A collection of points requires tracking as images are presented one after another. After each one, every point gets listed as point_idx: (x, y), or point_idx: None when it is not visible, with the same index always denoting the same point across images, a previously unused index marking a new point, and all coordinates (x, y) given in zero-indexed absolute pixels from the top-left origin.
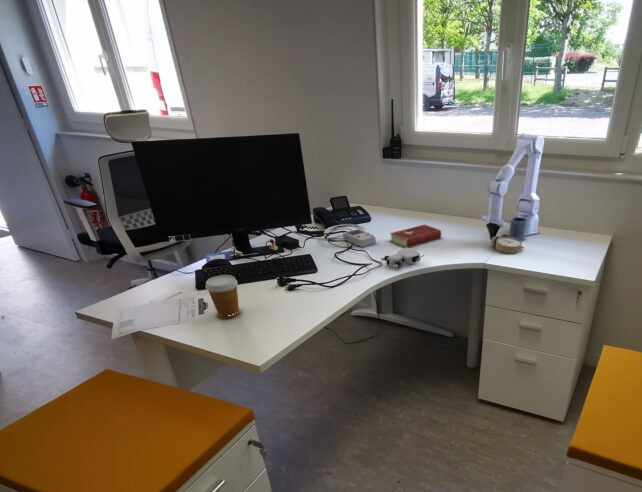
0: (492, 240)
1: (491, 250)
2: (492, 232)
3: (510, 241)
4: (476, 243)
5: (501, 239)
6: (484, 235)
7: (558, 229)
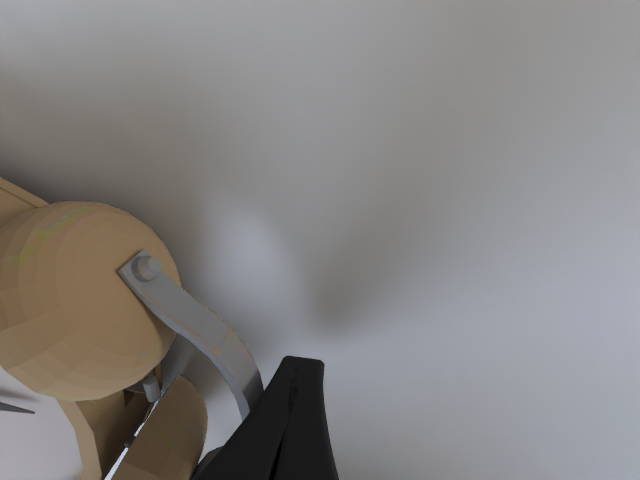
0: (35, 251)
1: (28, 97)
2: (198, 476)
3: None
4: (475, 151)
5: (51, 397)
6: (614, 475)
7: None
